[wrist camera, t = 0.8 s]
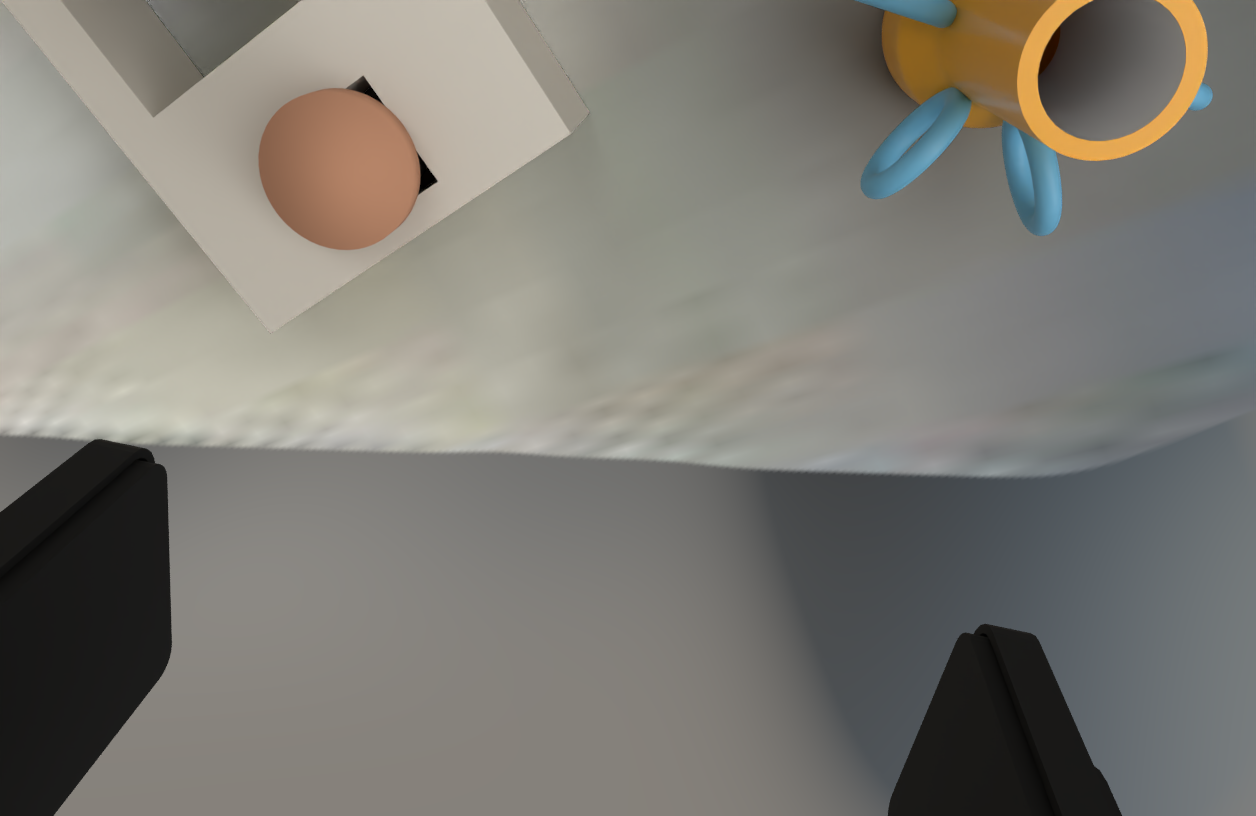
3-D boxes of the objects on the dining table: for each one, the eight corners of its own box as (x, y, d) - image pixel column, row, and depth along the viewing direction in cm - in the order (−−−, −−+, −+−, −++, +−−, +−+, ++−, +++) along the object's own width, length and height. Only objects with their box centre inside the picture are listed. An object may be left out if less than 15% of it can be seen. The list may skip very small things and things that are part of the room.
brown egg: (293, 122, 38) (226, 148, 33) (397, 45, 36) (344, 59, 31) (377, 236, 39) (326, 277, 34) (480, 166, 38) (442, 198, 33)
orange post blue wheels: (1136, 150, 37) (1376, 265, 23) (856, 225, 39) (925, 370, 25) (1099, -217, 32) (1370, -343, 19) (784, -109, 34) (820, -151, 21)
